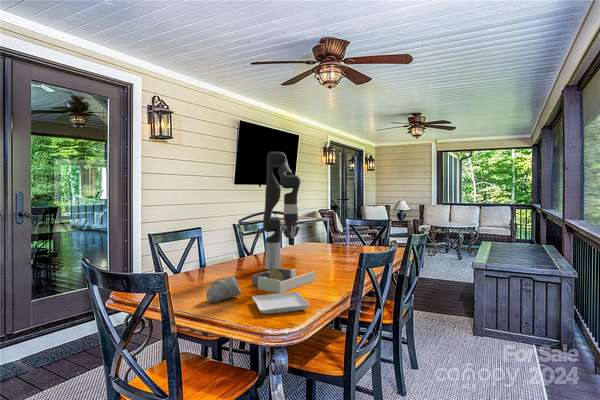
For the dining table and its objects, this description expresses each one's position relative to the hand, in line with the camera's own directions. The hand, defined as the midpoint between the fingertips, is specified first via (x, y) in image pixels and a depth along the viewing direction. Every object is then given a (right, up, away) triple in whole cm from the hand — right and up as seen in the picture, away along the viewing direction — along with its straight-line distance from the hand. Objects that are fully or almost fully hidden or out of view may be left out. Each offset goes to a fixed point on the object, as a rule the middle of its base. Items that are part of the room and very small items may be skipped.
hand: (291, 245), depth 203 cm
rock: (-7, -21, -7) cm, 23 cm away
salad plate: (-4, -22, -41) cm, 47 cm away
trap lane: (-5, -21, 0) cm, 21 cm away
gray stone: (-30, -22, -29) cm, 47 cm away
